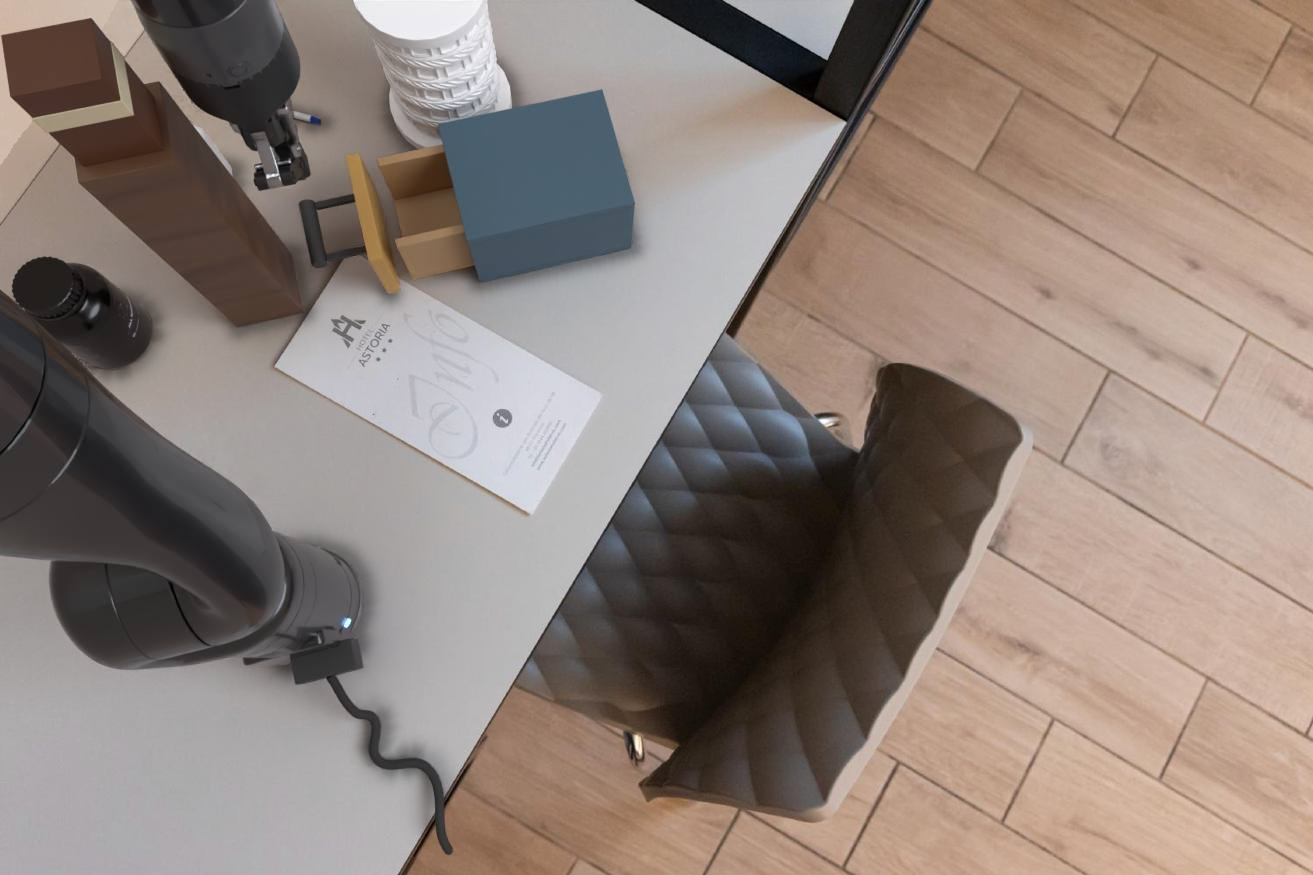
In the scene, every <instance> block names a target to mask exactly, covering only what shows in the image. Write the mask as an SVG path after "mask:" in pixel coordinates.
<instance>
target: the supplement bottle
mask: <svg viewBox="0 0 1313 875" xmlns="http://www.w3.org/2000/svg"><path fill="white" fill-rule="evenodd" d="M13 277H14V278H12V283H11V292H12V298H14V301H15V302H16V303H17V304H19V305H20V306H21V307H22V308H23V309H24V310H25V311H26V312H27V313H28V314H30V315H31V316H32V317H33V318H34V319H35V320H36V321H37V322H38V323H39V324H40V325H42V326H43V327H44V328H45V329H46V330H47V331H48V332H49V333H50V334H51V335H52V336H54V337H55V338H56V339H57V340H58V341H59V342H60V343H61V344H62V345H63V346H64V347H66V348H67V349H68V350H69V351H70V352H71V353H72V354H73V355H74V356H75V357H76V358H78V359H81V360H82V361H84V362H86V363H88V364H89V365H91V366H94V367H96V368H99V369H104V370H116V369H121V368H125V367H127V366H129V365H132V364H133V363H135V362H136V361H137V360H139V359H140V358H141V357H142V356H143V355H144V353H145V352H146V351H147V350H148V348H149V346H150V344H151V342H152V341H151V340H152V337H153V323H152V320H151V317H150V315H149V314H148V312H147V310H146V309H145V308H144V307H143V306H142V305H141V304H140V303H139V302H138V301H136V300H135V299H133V298H132V297H131V296H130V295H128V294H127V293H126V292H125V291H124V290H122V289H121V288H119V286H117V285H116V284H114V282H112V281H110V279H108V278H107V277H106V276H104V275H103V274H102V273H101V272H100V271H98V270H97V269H95V268H94V267H91V266H89V265H87V264H84V263H79V262H66V261H65V260H63V259H59V258H58V257H53V256H45V255H44V256H37V257H36V258H32V259H30V260H28V261H26V262H25V263H24V264H22V265H21V266H20V268H19V269H17V271H16V273H15V274H14V276H13Z"/></svg>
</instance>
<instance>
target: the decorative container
mask: <svg viewBox="0 0 1313 875" xmlns="http://www.w3.org/2000/svg"><path fill="white" fill-rule="evenodd" d="M352 1H353V4H354V6H355V9H356V11H357V14H358V17H359V18H360V20H361V21H362V22H363V24H364V25H365V26H366V28H367V30H368V32H369V36H370V37H371V38H372V40H373V43H374V48H375V52H376V54H377V57H378V59H379V61H380V62H381V64H382V70H383V73H384V76H385V78H386V81H387V82H388V84H389V88H390V89H389V93H388V98H389V99H388V100H389V110H390V112H391V115H392V118H393V120H394V123H395V125H396V128H397V130H398V132H400V134H401V135H402V137H403V138H404V139H405V140H406V141H407V142H408V143H409V144H410V145H412V146H413V147H414V148H416V150H418V149H423V148H428V147H432V146H437V145H442V144H443V143H442V139H441V135H440V131H439V127H438V124H440V123H445V122H450V121H455V120H459V119H464V118H469V117H473V116H478V115H483V114H488V113H492V112H497V111H502V110H507V109H511V108H513V101H512V93H511V86H510V83H509V81H508V80H509V79H508V78H507V76H506V73H505V71H504V70H503V69H502V68H501V66H500V65H499V63H498V62H497V60H498V58H497V50H496V49H495V48H496V44H495V42H494V41H493V40H494V35H493V27H492V26H491V25H492V22H491V20H490V18H489V15H490V13H489V4H488V0H352Z"/></svg>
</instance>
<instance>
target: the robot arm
mask: <svg viewBox="0 0 1313 875" xmlns="http://www.w3.org/2000/svg"><path fill="white" fill-rule="evenodd" d="M130 2H131V4H132V6H133V8H134V10H135V13H136V15H137V17H138V20H139V22H140V24H141V26H142V28H143V29H144V31H145V33H146V35H147V36H148V38H149V40H150V41H151V43H152V44H153V46H154V47H155V49H156V50H157V52H158V53H159V54H160V56H161V58H162V59H163V61H164V63H165V64H166V65H167V67H168V68H169V70H170V71H171V73H172V74H173V76H174V77H175V79H176V81H177V82H178V84H179V85H180V87H181V88H182V89H183V92H184V93H185V94H186V96H187V97H188V98H189V100H190V101H191V102H192V104H194V105H195V106H196V107H197V108H199V109H200V110H201V111H203V113H206V114H208V115H209V116H212V117H214V118H216V119H219V120H222V121H225V122H228V123H229V126H230V127H231V129H232V131H233V132H234V133H236V134H239V135H240V136H241V137H242V140H243V142H244V144H245V145H246V147H248V149H250V151H252V152H257V153H258V156H259V160H260V162H258V163H255V164H254V165H253V167H254V170H255V171H254V172H253V184H254V186H255V187H256V188H257V190H258V191H259V192H261V191H268V190H273V189H278V188H284V187H290V186H294V185H297V184H298V182H301V181H307V178H310V177H311V168H310V164H309V157H308V155H307V154H306V152H305V149H304V147H303V146H302V144H301V141H300V136H299V129H298V126H297V123H296V122H295V120H294V119H295V118H294V111H295V110H294V106H293V101H292V98H291V97H292V96H293V95H294V93H295V91H296V89H297V87H298V84H299V81H300V76H301V70H302V69H301V68H302V67H301V58H300V55H299V51H298V49H297V47H296V44H295V42H294V40H293V37H292V35H291V33H290V31H289V29H288V26H287V24H286V21H285V19H284V16H283V15H282V12H281V9H280V7H279V6H278V3H277V0H130ZM317 546H318V545H316V544H315V546H314V545H313V544H310V543H307V542H304V541H301V540H299V539H296V538H293V537H291V536H288V535H286V534H283V533H280V532H278V531H276V530H273V529H272V527H271V525H270V523H269V521H268V520H267V518H266V516H265V515H264V513H263V512H262V511H261V509H260V508H259V507H258V505H257V504H256V503H255V502H254V501H253V500H252V499H251V498H250V497H249V496H248V495H247V494H246V493H245V492H244V491H243V490H242V489H241V488H240V487H239V486H238V485H236V484H235V483H234V482H232V481H231V480H230V479H229V478H227V477H225V476H223V474H221V473H220V472H218V471H216V470H215V469H213V468H211V467H210V466H208V465H207V464H205V463H204V462H202V461H201V460H199V459H198V458H196V457H195V456H193V455H191V454H190V453H188V452H187V451H185V450H184V449H182V448H181V447H179V446H178V445H177V444H175V443H174V442H172V441H171V440H169V439H168V438H167V437H165V436H163V435H162V434H161V433H160V432H159V431H157V430H156V429H155V428H153V427H152V426H151V425H150V424H149V423H147V421H145V420H144V419H142V418H141V417H140V416H139V415H138V414H137V413H136V412H134V411H133V410H132V409H131V408H129V407H128V406H127V405H126V404H125V403H124V402H122V401H121V400H120V399H119V398H118V397H117V396H116V395H114V394H113V393H112V392H111V391H110V389H108V388H107V387H106V386H105V385H104V384H102V382H101V381H100V380H98V378H97V377H96V376H95V375H94V374H93V373H92V372H91V371H90V370H89V369H88V368H87V367H86V366H85V365H84V364H83V363H82V362H81V361H80V360H79V358H78V357H77V356H75V355H74V354H72V353H71V352H70V351H69V350H68V349H67V348H66V347H64V346H63V345H62V344H61V343H60V342H59V341H58V340H57V339H56V338H55V337H54V336H52V335H51V334H50V333H49V332H48V331H47V330H46V329H45V328H44V327H43V326H42V325H40V324H39V323H38V322H37V321H36V320H35V319H34V318H33V317H32V316H31V315H30V314H28V313H27V312H26V311H25V310H24V309H23V308H22V307H21V306H20V305H19V304H18V303H17V302H16V301H15V299H13V298H12V297H10V296H9V295H8V294H7V293H5V291H3V290H1V289H0V557H8V558H16V559H17V558H19V559H26V560H27V559H28V560H37V561H49V562H50V563H49V571H48V587H49V596H50V600H51V604H52V608H53V611H54V613H55V617H56V618H57V620H58V622H59V625H60V627H61V628H62V630H63V632H64V633H65V634H66V636H67V637H68V639H69V640H70V641H71V643H72V645H74V646H75V647H76V648H77V649H78V650H79V651H80V652H81V653H82V654H84V656H86V657H88V658H89V659H90V660H92V661H93V662H96V663H97V664H99V665H101V666H104V667H107V668H110V669H113V670H119V671H122V670H123V671H136V670H137V671H138V670H153V669H165V668H179V667H188V666H194V665H200V664H205V663H211V662H214V661H215V662H216V661H221V660H225V659H242V663H243V665H244V666H246V667H252V666H253V667H256V666H259V667H260V666H286V665H290V666H291V670H292V674H293V680H294V681H293V682H294V685H295V686H297V685H298V686H299V685H307V684H310V683H313V682H317V681H321V680H326V681H327V683H328V685H329V686H330V688H331V689H332V691H333V693H334V695H335V696H336V698H337V700H338V702H339V703H340V704H341V706H342V707H343V708H344V710H345V711H346V712H347V713H348V714H349V715H350V716H351V717H352V718H354V719H357V720H362V721H363V720H365V721H368V722H369V723H370V735H369V741H368V754H369V757H370V760H371V762H372V764H374V765H375V766H377V767H378V768H380V769H382V770H388V771H394V770H404V769H417V770H420V771H422V772H423V773H424V774H425V776H426V777H427V778H428V780H429V782H430V784H431V787H432V791H433V799H434V826H435V833H436V838H437V841H438V843H439V845H440V848H441V849H442V851H443V853H444V854H445V855H447V856H450V855H452V854H453V853H454V848H453V845H452V844H451V843H450V841H449V838H448V834H447V830H446V819H445V818H446V817H445V795H444V788H443V783H442V780H441V778H440V776H439V774H438V772H437V771H436V769H435V768H434V767H433V766H432V764H430V763H429V762H428V761H426V760H424V759H422V758H417V757H416V758H415V757H409V758H401V759H387V758H385V757H383V756H382V755H381V754H380V752H379V743H380V737H381V729H382V728H381V726H382V725H381V721H380V719H379V716H378V715H377V714H376V713H375V712H374V711H372V710H368V709H367V710H366V709H365V710H364V709H361V708H359V707H358V706H357V705H356V704H355V703H354V702H353V701H352V700H351V698H350V697H349V696H348V693H347V692H346V690H345V689H344V687H343V685H342V684H341V682H340V680H339V679H338V677H337V676H339V675H343V674H347V673H350V672H355V671H358V670H362V669H364V668H365V667H364V662H363V657H362V653H361V648H360V642H359V639H358V638H354V633H355V631H356V629H357V627H358V625H359V624H360V621H361V618H362V617H363V616H362V615H363V612H364V605H365V604H364V603H365V597H364V596H365V595H364V588H363V585H362V581H361V579H360V576H359V575H358V573H357V571H356V569H354V567H353V565H351V564H350V562H349V561H347V559H346V558H344V557H343V556H341V555H339V554H337V553H335V552H334V551H331V550H328V549H326V548H323V547H317Z"/></svg>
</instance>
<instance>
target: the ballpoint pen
mask: <svg viewBox="0 0 1313 875" xmlns="http://www.w3.org/2000/svg"><path fill="white" fill-rule="evenodd" d="M293 111H294V118H293V119H296V120H300V121H304V122H308V123H311V124H312V123H314V124H321V119H320V118H318V117H316V116H314V115H310V114H307V113H303V112H300V111H295V110H293Z"/></svg>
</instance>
